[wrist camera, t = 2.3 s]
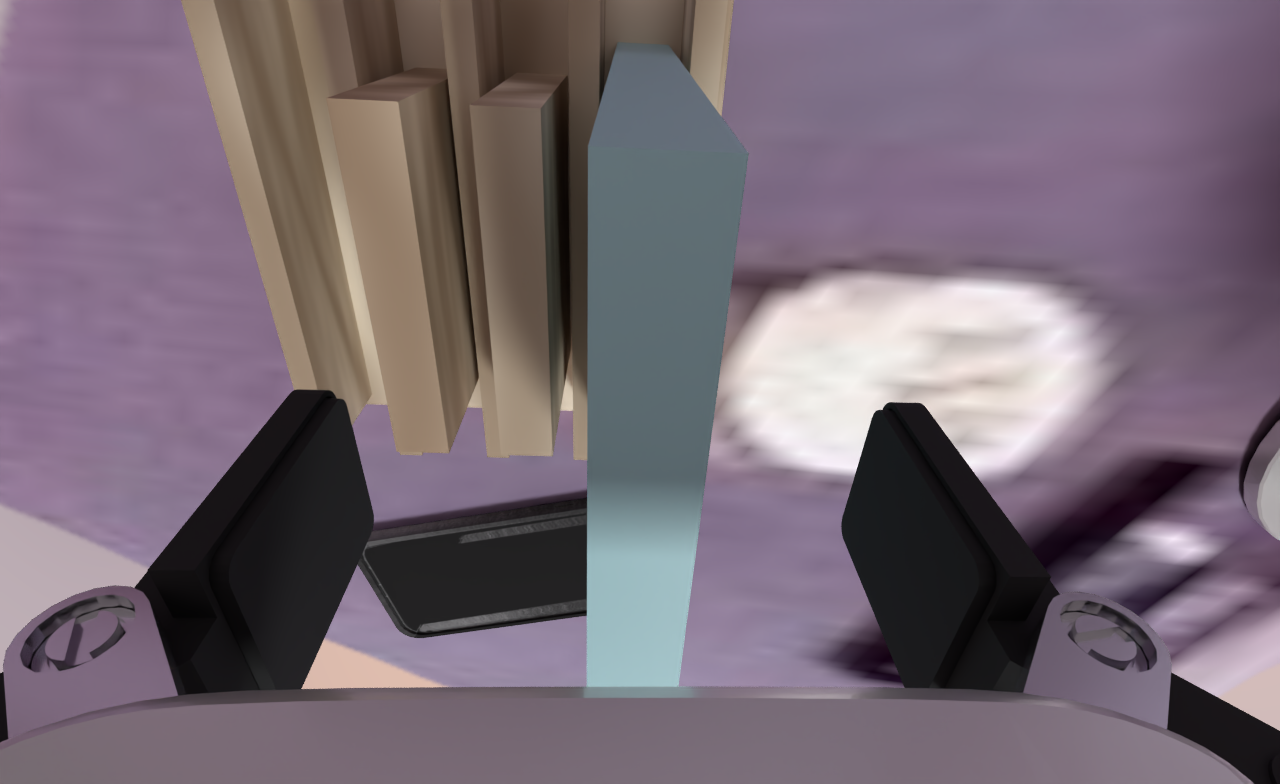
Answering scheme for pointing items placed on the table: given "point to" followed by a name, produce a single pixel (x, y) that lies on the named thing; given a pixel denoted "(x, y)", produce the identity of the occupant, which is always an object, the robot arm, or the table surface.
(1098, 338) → the table surface
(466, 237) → the rack
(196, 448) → the table surface
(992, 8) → the table surface
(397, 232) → the offcut
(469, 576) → the phone
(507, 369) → the offcut
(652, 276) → the tall sheet
